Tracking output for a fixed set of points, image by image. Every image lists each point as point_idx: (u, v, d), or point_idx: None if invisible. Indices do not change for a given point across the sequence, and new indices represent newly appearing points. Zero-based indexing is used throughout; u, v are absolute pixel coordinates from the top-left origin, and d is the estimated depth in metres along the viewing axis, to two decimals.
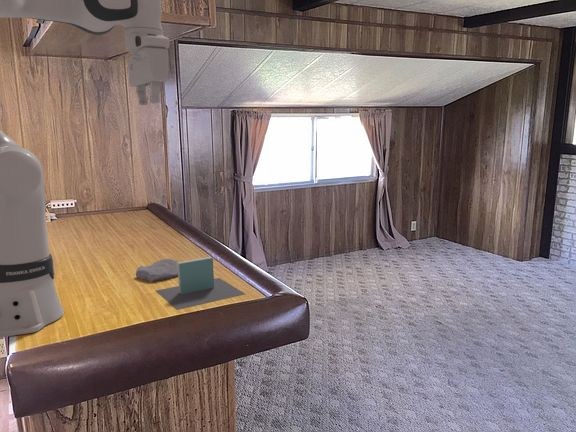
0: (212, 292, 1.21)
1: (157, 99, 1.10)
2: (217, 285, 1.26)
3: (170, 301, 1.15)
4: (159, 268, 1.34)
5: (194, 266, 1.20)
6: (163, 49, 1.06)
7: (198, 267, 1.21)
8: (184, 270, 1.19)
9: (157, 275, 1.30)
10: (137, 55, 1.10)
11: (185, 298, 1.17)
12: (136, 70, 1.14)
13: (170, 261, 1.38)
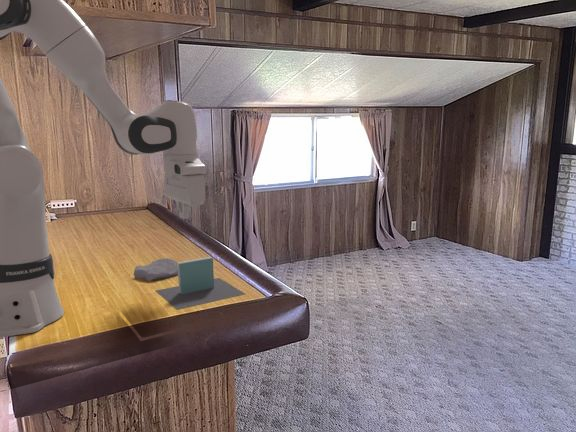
0: (212, 292, 1.21)
1: (188, 216, 1.23)
2: (217, 285, 1.26)
3: (170, 301, 1.15)
4: (157, 267, 1.34)
5: (194, 266, 1.20)
6: (200, 176, 1.16)
7: (198, 267, 1.21)
8: (184, 270, 1.19)
9: (155, 274, 1.31)
10: (175, 178, 1.19)
11: (185, 298, 1.17)
12: (173, 187, 1.23)
13: (168, 260, 1.39)
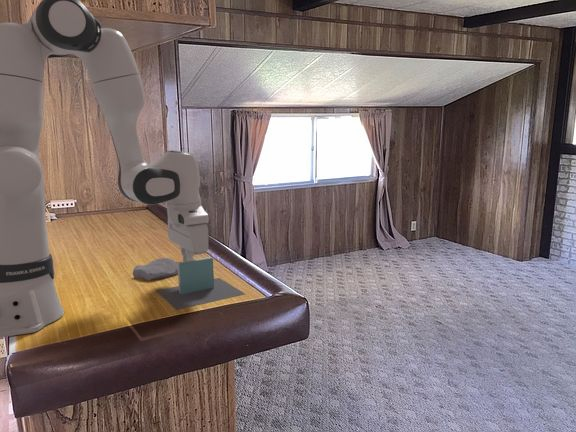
0: (212, 292, 1.21)
1: None
2: (217, 285, 1.26)
3: (170, 301, 1.15)
4: (156, 267, 1.35)
5: (194, 266, 1.20)
6: (203, 225, 1.18)
7: (198, 267, 1.21)
8: (184, 270, 1.19)
9: (154, 274, 1.31)
10: (179, 226, 1.22)
11: (185, 298, 1.17)
12: (177, 233, 1.26)
13: (167, 260, 1.39)
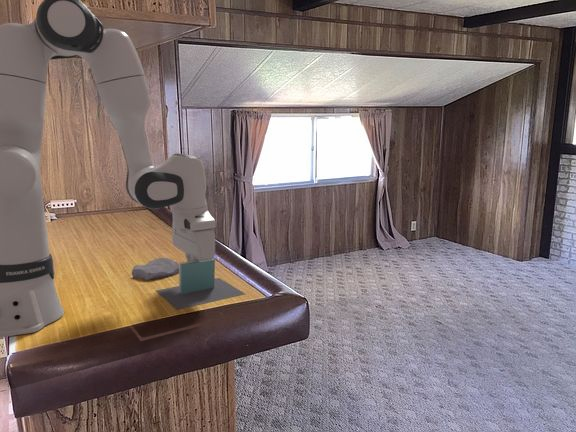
0: (212, 292, 1.21)
1: None
2: (217, 285, 1.26)
3: (170, 301, 1.15)
4: (155, 267, 1.35)
5: (196, 267, 1.19)
6: (210, 231, 1.15)
7: (200, 268, 1.20)
8: (185, 271, 1.18)
9: (153, 274, 1.31)
10: (184, 231, 1.18)
11: (185, 298, 1.17)
12: (182, 239, 1.22)
13: (166, 260, 1.40)
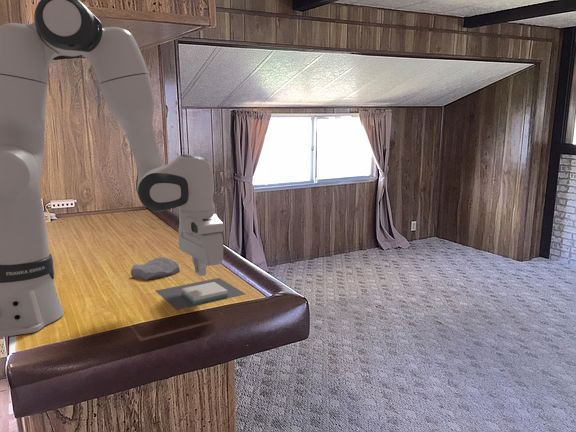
0: None
1: (204, 272, 1.18)
2: None
3: (170, 301, 1.15)
4: (154, 266, 1.35)
5: None
6: (218, 234, 1.11)
7: None
8: None
9: (152, 273, 1.32)
10: (191, 235, 1.14)
11: (185, 298, 1.17)
12: (189, 242, 1.18)
13: (164, 259, 1.40)
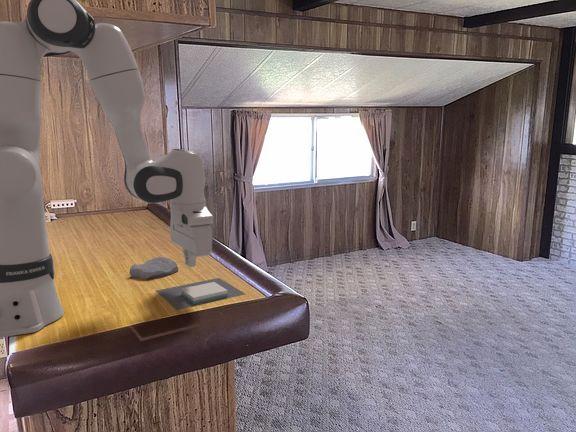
0: None
1: (194, 263, 1.22)
2: None
3: (170, 301, 1.15)
4: (152, 266, 1.36)
5: None
6: (207, 226, 1.14)
7: None
8: None
9: (151, 273, 1.32)
10: (182, 227, 1.18)
11: (185, 298, 1.17)
12: (179, 234, 1.22)
13: (163, 259, 1.40)
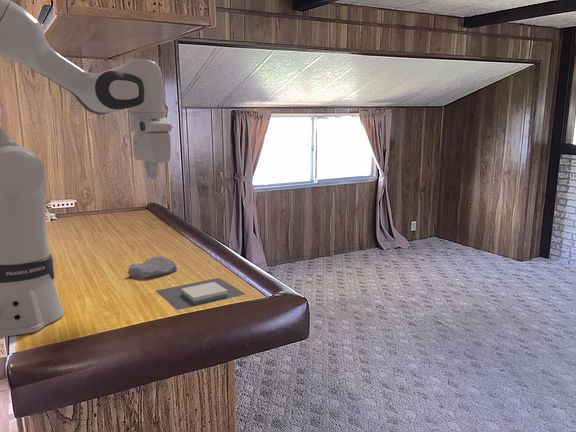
0: None
1: (155, 176, 1.23)
2: None
3: (170, 301, 1.15)
4: (151, 266, 1.36)
5: None
6: (165, 133, 1.15)
7: None
8: None
9: (149, 272, 1.32)
10: (141, 137, 1.19)
11: (185, 298, 1.17)
12: (141, 147, 1.23)
13: (162, 259, 1.41)
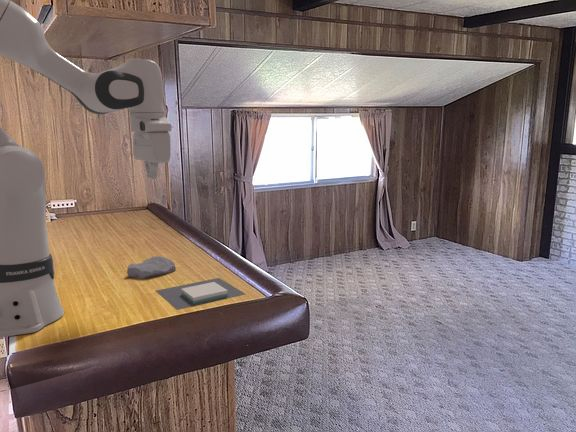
0: None
1: (155, 176, 1.23)
2: None
3: (170, 301, 1.15)
4: (150, 265, 1.37)
5: None
6: (165, 133, 1.15)
7: None
8: None
9: (148, 272, 1.33)
10: (141, 137, 1.19)
11: (185, 298, 1.17)
12: (140, 147, 1.23)
13: (161, 258, 1.41)
